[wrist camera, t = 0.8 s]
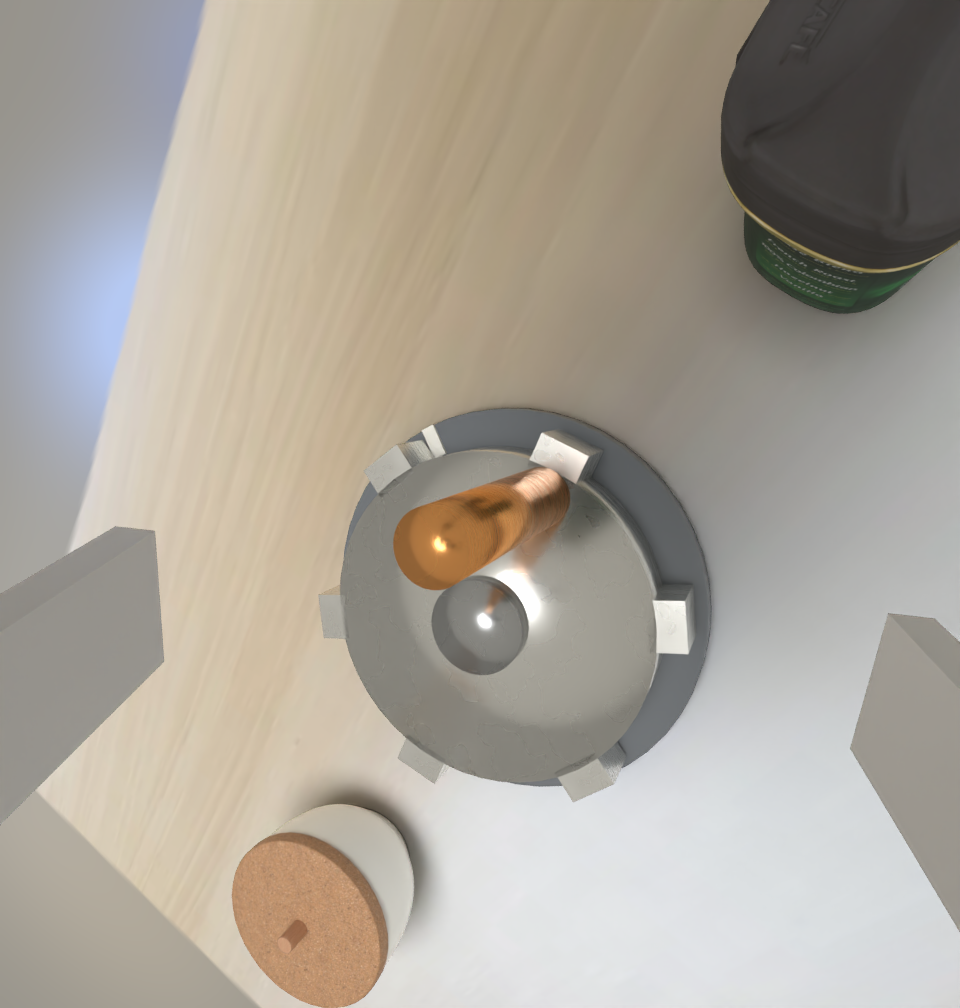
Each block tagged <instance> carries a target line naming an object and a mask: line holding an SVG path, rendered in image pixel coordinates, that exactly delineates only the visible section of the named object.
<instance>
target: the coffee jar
mask: <svg viewBox="0 0 960 1008" xmlns="http://www.w3.org/2000/svg"><path fill="white" fill-rule="evenodd" d="M721 157H722V164H723V171H724V175H725V178H726V181H727V184H728V186H729V188H730V191H731V193H732V194H733V196H734V198H735V199H736V201H737V202H738V203H739V205H740V206H741V207H742V208H743V210H744V211H745V215H744V238H745V246H746V251H747V254H748V257H749V259H750V261H751V263H752V264H753V266H754V268H755V269H756V270H757V271H758V272H759V273H760V274H761V275H762V276H763V277H764V278H765V279H766V280H768V281H769V282H770V283H771V284H773V285H774V286H776V287H778V288H779V289H781V290H782V291H784V292H785V293H787V294H789V295H790V296H792V297H794V298H796V299H798V300H800V301H801V302H803V303H806V304H808V305H810V306H813V307H815V308H818V309H821V310H824V311H828V312H832V313H856V312H861V311H864V310H867V309H870V308H872V307H875V306H877V305H879V304H880V303H882V302H884V301H885V300H887V299H888V298H889V297H891V296H892V295H893V294H894V293H896V292H897V291H898V290H899V289H900V288H901V287H903V286H904V285H905V284H906V283H907V282H908V281H909V280H910V279H911V278H913V277H914V276H915V275H916V274H917V273H918V272H919V271H920V270H921V269H923V268H924V267H925V266H926V265H927V264H928V263H930V262H931V261H932V260H933V259H935V258H936V257H937V256H939V255H941V254H942V253H944V252H945V251H947V250H949V249H950V248H951V247H953V246H954V245H955V244H957V243H958V242H959V241H960V0H770V2H769V3H768V5H767V7H766V8H765V10H764V12H763V13H762V15H761V16H760V18H759V20H758V21H757V23H756V25H755V26H754V28H753V30H752V31H751V33H750V35H749V36H748V38H747V40H746V41H745V43H744V45H743V46H742V48H741V49H740V51H739V53H738V54H737V59H736V67H735V69H734V71H733V74H732V76H731V78H730V81H729V84H728V87H727V90H726V94H725V98H724V103H723V109H722V115H721Z"/></svg>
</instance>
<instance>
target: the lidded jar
mask: <svg viewBox="0 0 960 1008" xmlns="http://www.w3.org/2000/svg"><path fill="white" fill-rule="evenodd" d="M413 898H414V875H413V869H412V865H411V862H410V858H409V853H408V849H407V846H406V843H405V841H404V839H403V837H402V835H401V834H400V832H399V831H398V829H397V828H396V827H395V826H394V825H393V824H392V823H391V822H390V821H389V820H388V819H387V818H385V817H384V816H383V815H381V814H379V813H377V812H375V811H373V810H369V809H364V808H361V807H357V806H354V805H347V804H331V805H325V806H321V807H317V808H314V809H311V810H309V811H307V812H304V813H302V814H300V815H299V816H297V817H295V818H293V819H292V820H290V821H288V822H287V823H285V824H284V825H282V826H281V827H280V828H279V829H277V830H276V831H275V832H274V833H272V834H271V835H270V836H269V837H267V838H265V839H264V840H262V841H260V842H259V843H258V844H257V845H255V846H254V847H253V848H252V849H251V850H250V851H249V852H248V853H247V854H246V855H245V856H244V857H243V859H242V860H241V862H240V863H239V866H238V868H237V870H236V873H235V877H234V881H233V889H232V902H233V910H234V916H235V921H236V924H237V926H238V929H239V932H240V935H241V937H242V939H243V942H244V944H245V946H246V947H247V949H248V951H249V952H250V954H251V956H252V957H253V959H254V960H255V961H256V963H257V964H258V966H259V967H260V968H261V969H262V970H263V972H264V973H265V974H266V975H267V976H268V977H269V978H270V979H271V980H272V981H273V982H274V983H275V984H276V985H278V986H279V987H280V988H281V989H283V990H284V991H286V992H287V993H288V994H290V995H292V996H293V997H295V998H297V999H299V1000H300V1001H303V1002H306V1003H308V1004H311V1005H315V1006H319V1007H323V1008H338V1007H345V1006H348V1005H351V1004H354V1003H356V1002H358V1001H359V1000H361V999H362V998H364V997H365V996H366V995H367V994H368V992H369V991H370V990H371V989H372V988H373V986H374V985H375V983H376V982H377V980H378V978H379V977H380V975H381V973H382V971H383V969H384V967H385V965H386V964H387V962H388V961H389V959H390V958H391V956H392V954H393V953H394V951H395V949H396V948H397V946H398V944H399V942H400V940H401V938H402V936H403V934H404V931H405V929H406V926H407V923H408V920H409V917H410V914H411V910H412V904H413Z"/></svg>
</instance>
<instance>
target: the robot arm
mask: <svg viewBox="0 0 960 1008" xmlns="http://www.w3.org/2000/svg"><path fill="white" fill-rule="evenodd" d="M163 662H164V652H163V638H162V623H161V609H160V595H159V581H158V566H157V552H156V538H155V531H151V530H143V529H134V528H125V527H116V526H115V527H114V528H112V529H110V530H109V531H107V532H105V533H104V534H102V535H100V536H98V537H97V538H95V539H93V540H92V541H90V542H88V543H86V544H85V545H83V546H81V547H80V548H78V549H76V550H74V551H73V552H71V553H69V554H68V555H66V556H64V557H63V558H61V559H59V560H57V561H56V562H54V563H52V564H51V565H49V566H47V567H46V568H44V569H42V570H40V571H39V572H37V573H35V574H34V575H32V576H30V577H28V578H27V579H25V580H23V581H22V582H20V583H18V584H16V585H15V586H13V587H11V588H10V589H8V590H6V591H5V592H3V593H1V594H0V824H2V823H3V822H4V821H5V820H6V819H7V818H8V817H9V816H10V815H11V814H12V813H13V812H14V811H15V809H17V808H18V807H19V806H20V805H21V804H22V803H23V801H25V800H26V799H27V798H28V797H29V796H30V795H31V794H32V793H33V792H34V791H35V790H36V789H37V788H38V787H39V786H40V785H41V784H42V783H43V782H44V781H45V780H46V779H47V778H48V777H49V776H50V775H51V774H52V773H53V772H54V771H55V770H56V769H57V768H58V767H59V766H60V765H61V764H62V763H63V762H64V761H65V760H66V759H67V758H68V757H69V756H70V755H71V754H72V753H73V752H74V751H75V750H76V749H77V748H78V747H79V746H80V745H81V744H82V743H83V742H84V741H85V740H86V739H87V738H88V737H89V736H90V735H91V734H92V733H93V732H94V731H95V730H96V729H97V728H98V727H99V726H100V725H101V724H102V723H103V722H104V721H105V720H106V719H107V718H108V717H109V716H110V715H111V714H112V713H113V712H114V711H115V710H116V709H117V708H118V707H119V706H120V705H121V704H122V703H123V702H124V701H125V700H126V699H127V698H128V697H129V696H130V695H131V694H132V693H133V692H134V691H135V690H136V689H137V688H138V687H139V686H140V685H141V684H142V683H143V682H144V681H145V680H146V679H147V678H148V677H149V676H150V675H151V674H152V673H153V672H154V671H155V670H156V669H157V668H158V667H159V666H160V665H161V664H162V663H163ZM850 749H851V751H852V752H853V754H854V756H855V757H856V759H857V761H858V762H859V764H860V766H861V767H862V769H863V771H864V772H865V774H866V776H867V777H868V779H869V781H870V782H871V784H872V786H873V787H874V789H875V791H876V792H877V794H878V796H879V798H880V799H881V801H882V803H883V804H884V806H885V808H886V809H887V811H888V813H889V814H890V816H891V818H892V819H893V821H894V823H895V824H896V826H897V828H898V829H899V831H900V833H901V834H902V836H903V838H904V839H905V841H906V843H907V844H908V846H909V848H910V849H911V851H912V853H913V854H914V856H915V858H916V859H917V861H918V863H919V865H920V866H921V868H922V870H923V871H924V873H925V875H926V876H927V878H928V880H929V881H930V883H931V885H932V886H933V888H934V890H935V891H936V893H937V895H938V896H939V898H940V900H941V901H942V903H943V905H944V906H945V908H946V910H947V911H948V913H949V915H950V916H951V918H952V920H953V921H954V923H955V925H956V926H957V928H958V930H959V932H960V642H959V641H958V640H957V639H956V638H955V637H953V636H952V635H951V634H950V633H949V632H948V631H947V630H946V629H945V628H944V627H943V626H942V625H941V624H940V623H939V622H938V621H937V620H936V619H933V618H924V617H915V616H906V615H898V614H889V613H888V616H887V620H886V623H885V627H884V630H883V634H882V637H881V641H880V644H879V648H878V652H877V655H876V659H875V662H874V666H873V669H872V673H871V676H870V680H869V684H868V687H867V691H866V694H865V698H864V701H863V705H862V708H861V712H860V715H859V719H858V723H857V726H856V730H855V733H854V737H853V740H852V744H851V747H850Z"/></svg>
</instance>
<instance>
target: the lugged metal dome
mask: <svg viewBox="0 0 960 1008" xmlns="http://www.w3.org/2000/svg"><path fill="white" fill-rule="evenodd" d="M602 453H603V450H601V449H599V448H597V447H595V446H593V445H591V444H589V443H587V442H585V441H583V440H581V439H579V438H577V437H575V436H573V435H571V434H569V433H567V432H565V431H563V430H561V429H557V430H552V431H547V432H543V433H541V435H540V438H539V440H538V442H537V444H536V447H535V449H534V450H531V449H524V448H517V447H483V448H476V449H470V450H465V451H461V452H456V453H452V454H447V455H444V456H440V457H437V458H434V457H433V455H432V453H431V452H430V450H429V449H428V447H427V446H426V444H425V443H424V441H423V440H419V441H414V442H408V443H402V444H396V445H395V446H394V447H393V448H391V449H390V450H389V451H388V452H386V453H385V454H384V455H383V456H382V457H380V458H379V459H378V460H377V461H375V462H374V463H373V464H372V465H370V466H369V467H368V468H367V469H365V470H364V472H365V474H366V475H367V477H368V479H369V480H370V482H371V483H372V485H373V486H374V488H375V490H376V491H377V493H378V494H377V496H376V497H375V498H374V499H373V500H372V502H371V503H370V504H369V505H368V506H367V508H366V510H365V511H364V513H363V514H362V516H361V518H360V519H359V521H358V522H357V525H356V527H355V529H354V531H353V534H352V536H351V538H350V540H349V544H348V547H347V550H346V554H345V557H344V561H343V567H342V573H341V583H340V585H339V586H337V587H335V588H332V589H330V590H328V591H326V592H324V593H321V594H319V595H318V596H319V604H320V611H321V619H322V627H323V635H324V638H339V639H346V643H347V646H348V649H349V653H350V656H351V659H352V661H353V663H354V666H355V668H356V671H357V673H358V675H359V677H360V679H361V681H362V683H363V684H364V686H365V688H366V690H367V692H368V693H369V695H370V696H371V698H372V699H373V701H374V702H375V704H376V705H377V707H378V708H379V709H380V711H381V712H382V713H383V714H384V715H385V717H386V718H387V719H388V720H389V721H390V722H391V724H392V725H393V726H394V727H395V728H396V729H397V730H398V731H399V732H401V733H402V734H403V735H404V736H405V737H406V740H405V742H404V745H403V747H402V749H401V751H400V754H399V756H398V759H399V760H401V761H402V762H404V763H405V764H407V765H408V766H409V767H411V768H412V769H414V770H415V771H417V772H418V773H420V774H421V775H422V776H424V777H425V778H427V779H428V780H430V781H431V782H433V783H434V784H435V783H436V782H437V781H438V779H439V778H440V777H441V776H442V775H443V774H444V773H445V772H446V770H447V769H448V768H449V767H452V768H454V769H457V770H459V771H461V772H464V773H467V774H470V775H473V776H477V777H480V778H485V779H490V780H495V781H501V782H518V783H522V782H535V781H543V780H547V779H552V778H556V777H558V779H559V781H560V782H561V784H562V785H563V787H564V788H565V790H566V792H567V793H568V795H569V796H570V798H571V800H572V801H573V802H575V801H577V800H579V799H582V798H584V797H586V796H588V795H591V794H593V793H595V792H597V791H600V790H602V789H604V788H606V787H609V786H611V785H613V784H614V783H615V781H616V779H617V776H618V774H619V772H620V770H621V767H622V765H623V763H624V761H625V759H626V755H625V753H624V752H623V750H622V748H621V747H620V745H619V744H618V742H617V741H618V740H619V739H620V738H621V737H622V736H623V735H624V733H625V732H626V731H627V730H628V728H629V727H630V725H631V724H632V722H633V721H634V719H635V718H636V716H637V715H638V713H639V711H640V709H641V706H642V704H643V702H644V700H645V698H646V696H647V694H648V692H649V689H650V687H651V685H652V683H653V681H654V679H655V677H656V674H657V672H658V669H659V666H660V662H661V659H662V656H663V653H670V654H689V651H690V649H691V646H692V644H693V641H694V639H695V636H696V621H695V604H694V587H693V584H663V582H662V578H661V575H660V571H659V567H658V564H657V562H656V559H655V557H654V554H653V552H652V550H651V547H650V545H649V543H648V541H647V539H646V538H645V536H644V534H643V532H642V531H641V529H640V527H639V526H638V524H637V522H636V521H635V520H634V518H633V517H632V516H631V515H630V513H629V512H628V511H627V509H626V508H625V507H624V505H623V504H622V503H621V502H620V501H619V500H618V499H617V498H616V497H615V496H614V495H613V494H612V493H611V492H610V491H609V490H608V489H607V488H606V487H604V486H603V485H602V484H600V483H599V482H598V481H597V480H595V479H594V478H593V477H591V476H592V474H593V472H594V470H595V468H596V466H597V464H598V462H599V459H600V457H601V455H602Z"/></svg>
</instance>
